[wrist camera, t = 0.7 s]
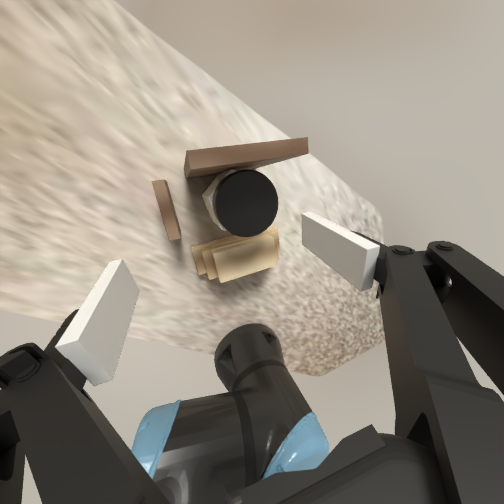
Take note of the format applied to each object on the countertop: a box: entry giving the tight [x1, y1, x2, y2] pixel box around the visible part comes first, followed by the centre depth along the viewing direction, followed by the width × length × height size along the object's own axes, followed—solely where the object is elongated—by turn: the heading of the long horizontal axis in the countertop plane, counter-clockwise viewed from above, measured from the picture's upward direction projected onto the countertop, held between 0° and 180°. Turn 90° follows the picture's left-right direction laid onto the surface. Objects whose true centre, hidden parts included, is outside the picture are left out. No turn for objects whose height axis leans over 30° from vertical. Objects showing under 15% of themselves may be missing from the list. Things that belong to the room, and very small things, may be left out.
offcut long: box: [191, 226, 280, 275], centre depth 38 cm, size 5×16×2 cm, turn 99°
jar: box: [202, 169, 278, 237], centre depth 30 cm, size 9×8×12 cm
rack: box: [152, 137, 309, 241], centre depth 27 cm, size 10×16×16 cm, turn 99°
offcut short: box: [211, 234, 278, 283], centre depth 33 cm, size 5×10×2 cm, turn 100°
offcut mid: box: [200, 230, 279, 280], centre depth 36 cm, size 5×13×2 cm, turn 100°
